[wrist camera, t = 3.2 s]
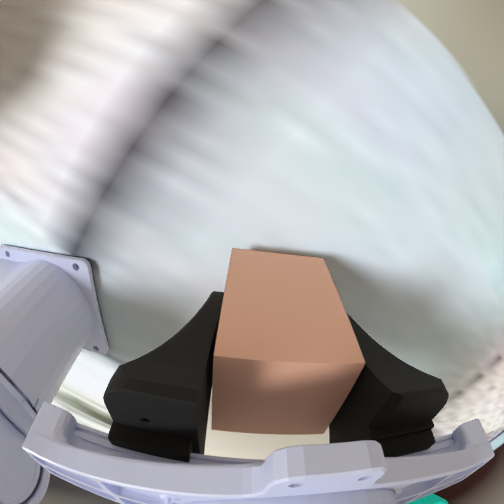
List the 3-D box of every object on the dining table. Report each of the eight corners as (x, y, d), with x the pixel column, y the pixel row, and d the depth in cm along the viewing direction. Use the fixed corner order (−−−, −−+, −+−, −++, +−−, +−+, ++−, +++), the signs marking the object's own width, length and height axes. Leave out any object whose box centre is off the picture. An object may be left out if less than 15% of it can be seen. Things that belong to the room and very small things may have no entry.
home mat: (194, 450, 26) (193, 455, 26) (185, 346, 18) (183, 352, 18) (314, 457, 27) (315, 461, 26) (378, 359, 19) (381, 364, 18)
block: (225, 320, 16) (211, 429, 10) (232, 248, 14) (213, 355, 8) (304, 327, 16) (323, 434, 10) (323, 258, 14) (365, 363, 8)
